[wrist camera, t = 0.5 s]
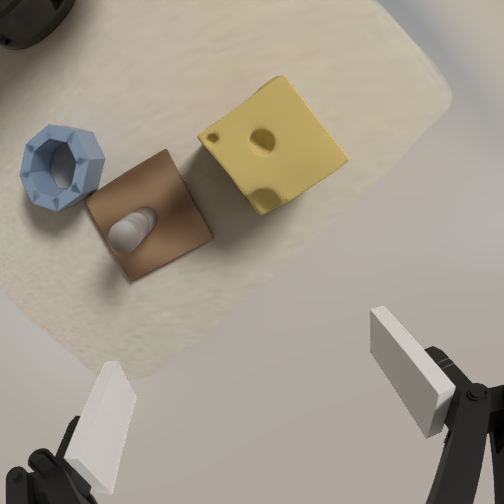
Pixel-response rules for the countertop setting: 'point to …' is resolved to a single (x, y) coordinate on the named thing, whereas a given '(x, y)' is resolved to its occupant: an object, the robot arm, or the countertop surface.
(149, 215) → the post
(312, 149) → the cheese
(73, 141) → the ring
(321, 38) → the countertop surface
